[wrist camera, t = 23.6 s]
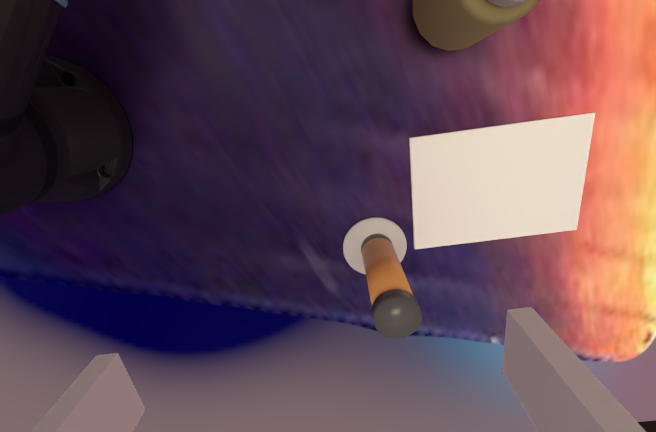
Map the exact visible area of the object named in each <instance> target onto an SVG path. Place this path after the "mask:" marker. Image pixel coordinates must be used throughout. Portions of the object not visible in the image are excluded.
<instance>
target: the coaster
mask: <svg viewBox="0 0 656 432" xmlns="http://www.w3.org/2000/svg"><path fill="white" fill-rule="evenodd" d="M372 234H383V235H386V236H387V237H388V238H389V239H390V240H391V242H392V244H393V247H394V249H395V252H396V254H397V256H398V259H399V261H400V263H401V261H402V260H403V258H404V256H405V253H406V249H407V242H406V238H405V235H404V233H403V231H402V230H401V228H400V227H399V226H398V225H397V224H396V223H395V222H393V221H391V220H389V219H387V218H383V217H369V218H365V219H363V220H360V221H358V222H357V223H355V224H354V225H353V226H352V227H351V228H350V229H349V230H348V232H347V233H346V235H345V238H344V241H343V252H344V256H345V259H346V261H347V262H348V264H349V265H350V266H351V267H352V268H353V269H354V270H356V271H358V272H360V273H362V274H366V273H365V268H364V263H363V258H362V253H361V245H362V242H363V241H364V239H365V238H366V237H368V236H370V235H372Z"/></svg>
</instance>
